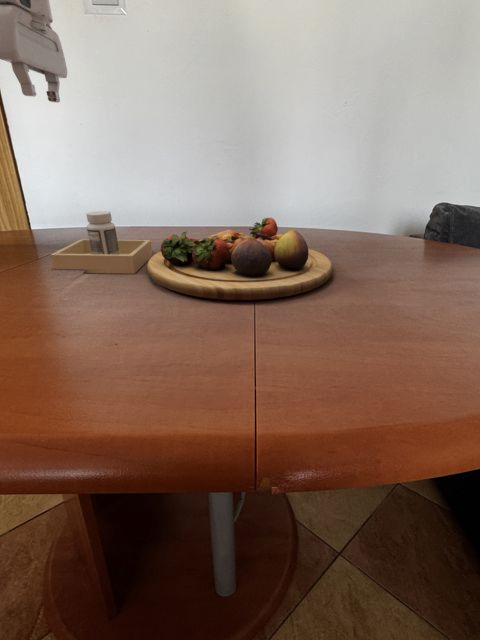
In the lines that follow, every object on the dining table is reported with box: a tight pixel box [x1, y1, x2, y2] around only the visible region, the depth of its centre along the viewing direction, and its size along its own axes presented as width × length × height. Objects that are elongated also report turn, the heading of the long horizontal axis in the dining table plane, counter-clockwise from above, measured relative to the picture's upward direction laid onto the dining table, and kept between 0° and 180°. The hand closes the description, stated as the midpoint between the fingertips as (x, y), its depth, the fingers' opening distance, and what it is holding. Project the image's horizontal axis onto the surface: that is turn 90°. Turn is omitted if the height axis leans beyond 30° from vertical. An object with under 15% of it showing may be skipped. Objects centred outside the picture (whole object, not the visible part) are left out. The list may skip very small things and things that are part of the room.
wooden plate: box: [146, 217, 334, 301], centre depth 65 cm, size 32×32×8 cm
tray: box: [50, 238, 154, 275], centre depth 69 cm, size 14×13×3 cm
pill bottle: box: [85, 210, 120, 255], centre depth 68 cm, size 5×5×8 cm
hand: (42, 99), depth 73 cm, fingers open, 8 cm apart
